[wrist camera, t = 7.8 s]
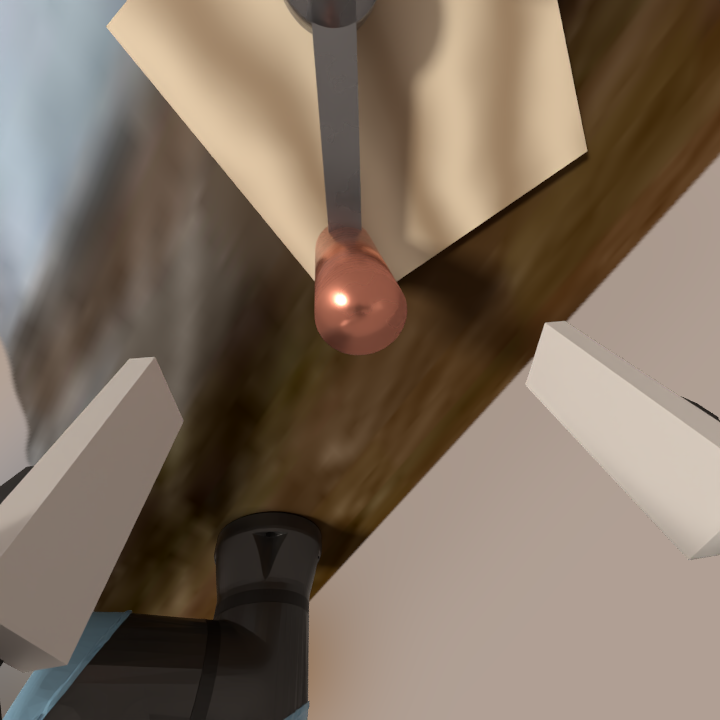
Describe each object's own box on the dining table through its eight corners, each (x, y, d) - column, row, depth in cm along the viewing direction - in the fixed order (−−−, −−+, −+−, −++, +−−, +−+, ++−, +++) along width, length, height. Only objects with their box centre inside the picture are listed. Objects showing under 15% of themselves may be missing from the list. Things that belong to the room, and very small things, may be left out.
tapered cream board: (343, 309, 29) (349, 348, 23) (120, 34, 18) (36, -13, 12) (574, 149, 24) (650, 151, 18) (460, -371, 13) (565, -744, 7)
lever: (311, 276, 24) (308, 359, 15) (245, -286, 12) (-4, -1794, 3) (377, 271, 24) (415, 350, 15) (377, -277, 12) (568, -1571, 3)
